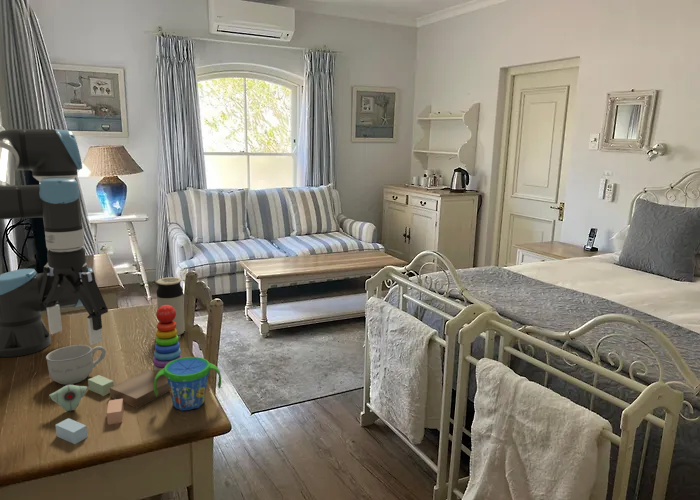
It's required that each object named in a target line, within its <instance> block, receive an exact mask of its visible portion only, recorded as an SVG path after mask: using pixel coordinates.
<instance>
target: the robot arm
mask: <svg viewBox="0 0 700 500" xmlns="http://www.w3.org/2000/svg"><path fill="white" fill-rule="evenodd" d="M82 169H83V164H82V159H81V154H80V150H79V145H78V141H77V138H76V137H75V135H74V133H73V132H72V131H71V130H66V129H58V128H57V129H56V128H54V129H53V128H52V129H50V128H49V129H48V128H47V129H46V128H44V129H43V128H40V129H39V128H37V129H36V128H32V129H31V128H23V129H21V128H9V129H4V130H1V131H0V220H13V219H16V220H17V219H29V218H30V219H31V218H34V219H35V218H42V220H43V230H44V235H45V237H44V239H45V247H46V249H47V252H46V257H47V262H46V264H45V265H44V266H43V272H40V273H37V271H36V270H35V268H19V269H15V270H11V271H8V272H7V271H6V272H5V273H4V272H3V273H1V274H0V358H1V357H2V358H3V357H5V358H9V357H10V358H12V357H20V356H27V355H31V354H34V353H37V352H40V351H42V350H45V349H46V348H47V347H49V346H50V345H51V343H52V338H51V335H53V334H56V333H59V332H62V331H63V324H62V314H61V310H62V309H63V310H64V309H70V308H74V309H75V308H77V307H84V309H85V310H86V312H87V314H88V316H86V320H87V329H88V339H89V340H88V341H89V345H95V344H98V343H100V342H102V341H103V333H102V329H103V324H102V323H103V322H102V315H104V314H107V313H109V309H108V306H107V305H106V302H105V300H104V297H103V295H102V293H101V290H100V288H99V286H98V283H97V281H96V276H95V273H94V271H93V268H91V267H88V264H87V256H86V249H85V247H84V246H85V245H86V244H85V243H86V242H85V235H84V228H83V221H82V220H83V219H82V207H81V192H80V189H79V183H78V181H77V180H76V178H77V177H78V175H79V174H78V171H80V170H82ZM16 171H31V172H32V177H33V178H34V179H35V180H36V181H38V183H39V184H27V185H24V184H20V185H19V184H18V185H16ZM42 312H46V317H47V324H48V327H46V325H45V322H44V321H43V318H42ZM47 328H48V329H47Z"/></svg>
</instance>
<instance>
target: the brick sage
mask: <svg viewBox="0 0 700 500" xmlns="http://www.w3.org/2000/svg"><path fill="white" fill-rule="evenodd" d="M87 384H88V390H89V391H91V392H93V393H96V394H98V395H101V396H103V397H105V396H106V395H108V394H109V395H110V387H113V386H115V385H114V380H112V379H109V378H107V377H106V376H102V375H100V374H98V375H96V376H93V377H91V378H88V379H87Z"/></svg>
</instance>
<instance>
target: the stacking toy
mask: <svg viewBox="0 0 700 500" xmlns="http://www.w3.org/2000/svg"><path fill="white" fill-rule="evenodd" d="M155 316H156V318H157V320H158V323H157V324H156V329H157V330H156V331H155V335H156V337H155V342H156V343H155V345H154V352H153V356H154V357H153V359H152V362H153V365H152V370H153V371H156V372H159V371H160V370H162V369H163V368H165V366H166V365H167V364H168V363H169V362H171V361H173V360H176V359H179V358H183V357H182V355H181V354H182V351H181V348H180V342H179V339H180V338H179V335H178V336H177V335H176V334H177V330H176V329H175V328H176V323H175V322H174V321H173V320H174V319H175V316H176V311H175V309H174V308H173V307H172V306H170V305H163V306H161V307H159V308H158V307H157V310H156V314H155ZM159 321H160V322H159Z"/></svg>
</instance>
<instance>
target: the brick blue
mask: <svg viewBox="0 0 700 500" xmlns="http://www.w3.org/2000/svg"><path fill="white" fill-rule="evenodd" d="M54 426H55V434H56V437H57V438H59V439H62V440H64V441H66V442H68V443H71V444H73V445H77V444H78V443H80V442H81V441H84V439H87V438H88V436H89V435H88V430H87V427H88V426H87V425H86V424H83V423H81V422H78V420H77V421H76V420H74V419H72V418H69V417H68V418H66V419H64V420H62V421H59V422H58V423H56V424H55V425H54Z"/></svg>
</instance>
